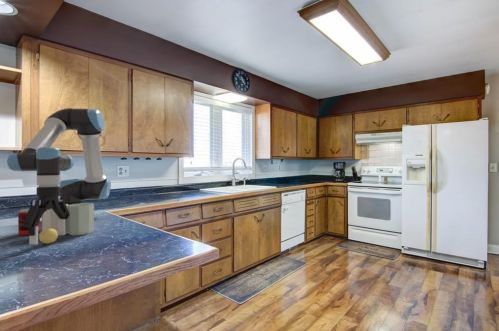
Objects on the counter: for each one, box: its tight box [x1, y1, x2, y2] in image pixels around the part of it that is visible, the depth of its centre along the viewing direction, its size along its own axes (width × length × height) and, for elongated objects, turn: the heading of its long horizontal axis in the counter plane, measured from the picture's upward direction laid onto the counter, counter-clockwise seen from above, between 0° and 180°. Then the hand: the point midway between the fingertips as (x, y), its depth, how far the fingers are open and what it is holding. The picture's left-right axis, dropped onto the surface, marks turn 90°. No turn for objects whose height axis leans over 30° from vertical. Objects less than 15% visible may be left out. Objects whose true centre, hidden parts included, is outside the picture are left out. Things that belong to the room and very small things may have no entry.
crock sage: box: [67, 202, 95, 236], centre depth 123 cm, size 10×10×13 cm
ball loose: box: [38, 228, 59, 245], centre depth 106 cm, size 6×6×6 cm
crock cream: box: [41, 204, 69, 237], centre depth 120 cm, size 10×10×13 cm
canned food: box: [17, 208, 41, 237], centre depth 121 cm, size 8×8×11 cm
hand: (48, 239), depth 106 cm, fingers open, 13 cm apart
